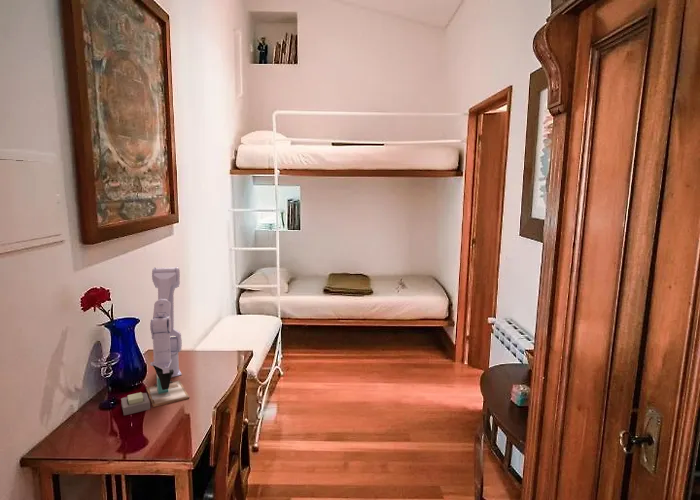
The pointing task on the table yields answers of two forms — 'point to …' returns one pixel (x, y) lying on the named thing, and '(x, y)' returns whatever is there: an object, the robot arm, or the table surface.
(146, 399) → the button housing
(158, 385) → the teal rimmed box
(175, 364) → the robot arm
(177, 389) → the clipboard
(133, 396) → the button
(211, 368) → the table surface
